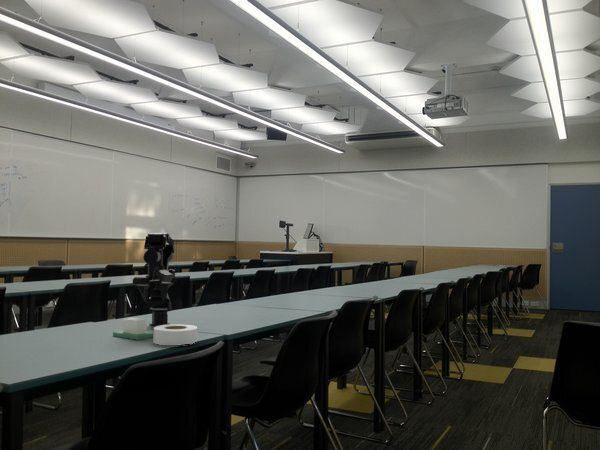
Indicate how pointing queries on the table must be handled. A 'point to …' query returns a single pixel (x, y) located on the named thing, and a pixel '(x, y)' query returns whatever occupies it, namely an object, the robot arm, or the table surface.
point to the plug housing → (134, 325)
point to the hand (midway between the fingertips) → (154, 300)
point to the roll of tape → (175, 334)
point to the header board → (133, 335)
